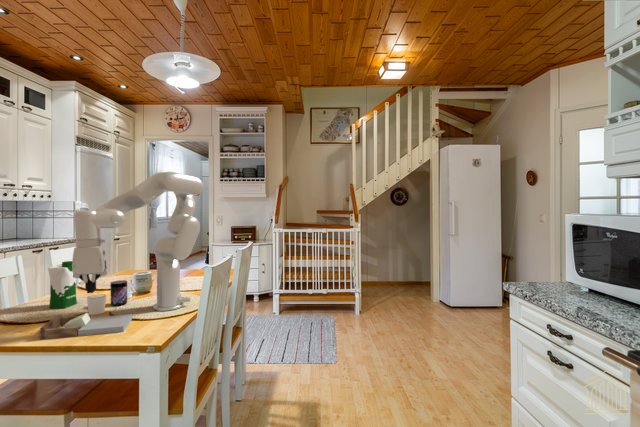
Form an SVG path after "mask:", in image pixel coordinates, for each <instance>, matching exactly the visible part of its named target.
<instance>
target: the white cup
mask: <svg viewBox="0 0 640 427" xmlns="http://www.w3.org/2000/svg"><path fill="white" fill-rule="evenodd" d="M86 300H87V309H88V310H87V311H88V315H91V316H92V315H100V314H103V313H105V311H106V301H107V295H106V294H92V295H89V296H87V297H86Z"/></svg>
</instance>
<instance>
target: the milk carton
mask: <svg viewBox="0 0 640 427" xmlns="http://www.w3.org/2000/svg"><path fill="white" fill-rule="evenodd" d="M61 263H62V264H60V265H55V266H51V267H47V270H48V274H49V278H50V279H49V283H50V284H49V288H50V294H49V296H50V297H49V306H48V307H49V309H67V308H69V307H72V306H74V305H77V304H78V303H77V302H78V300H77V278H73V271H72V260H69V261H67V260H66V261H62V262H61Z"/></svg>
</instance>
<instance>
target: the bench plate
mask: <svg viewBox="0 0 640 427" xmlns="http://www.w3.org/2000/svg"><path fill="white" fill-rule="evenodd" d="M132 320H133V314H132V313H130V314H129V313H128V314H117V315H116V314H115V315H105V316H91V320H90V321H89V322H88V323H87V324H86V325H84V326H82V327H80V328H79V330H78V336H77V337H81V336H94V335H102V334H103V335H105V334H113V333H124V332H125V330H126V329H127V327H128V326H129V324H130V323H131V322H132Z"/></svg>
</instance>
